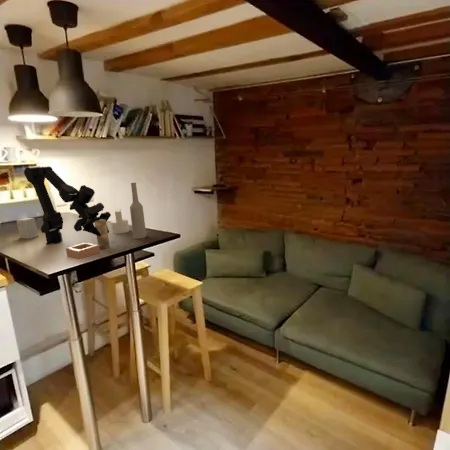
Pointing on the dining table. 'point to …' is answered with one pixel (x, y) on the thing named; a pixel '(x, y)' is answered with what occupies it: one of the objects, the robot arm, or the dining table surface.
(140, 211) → the bottle
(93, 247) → the socket
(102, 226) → the peg
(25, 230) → the small box
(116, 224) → the base with upright slab
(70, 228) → the dining table surface
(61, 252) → the dining table surface
